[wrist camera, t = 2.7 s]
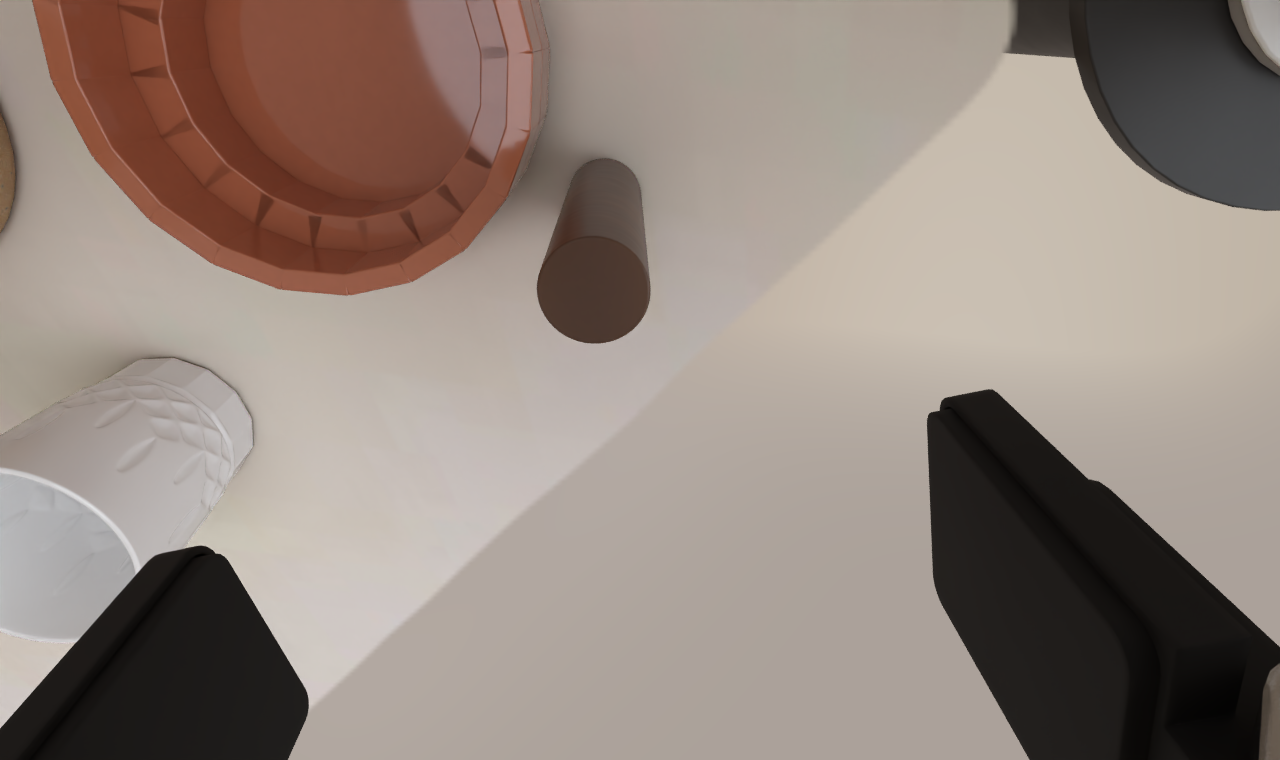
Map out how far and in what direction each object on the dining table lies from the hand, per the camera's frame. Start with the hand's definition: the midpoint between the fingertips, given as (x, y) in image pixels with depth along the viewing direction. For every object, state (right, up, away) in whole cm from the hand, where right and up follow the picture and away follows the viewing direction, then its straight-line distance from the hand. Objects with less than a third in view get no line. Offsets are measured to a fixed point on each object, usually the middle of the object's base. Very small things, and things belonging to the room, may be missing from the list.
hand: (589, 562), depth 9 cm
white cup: (-21, +1, +25) cm, 32 cm away
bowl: (-10, +15, +18) cm, 25 cm away
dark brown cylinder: (-1, +10, +20) cm, 23 cm away
